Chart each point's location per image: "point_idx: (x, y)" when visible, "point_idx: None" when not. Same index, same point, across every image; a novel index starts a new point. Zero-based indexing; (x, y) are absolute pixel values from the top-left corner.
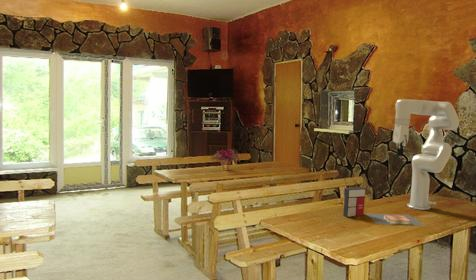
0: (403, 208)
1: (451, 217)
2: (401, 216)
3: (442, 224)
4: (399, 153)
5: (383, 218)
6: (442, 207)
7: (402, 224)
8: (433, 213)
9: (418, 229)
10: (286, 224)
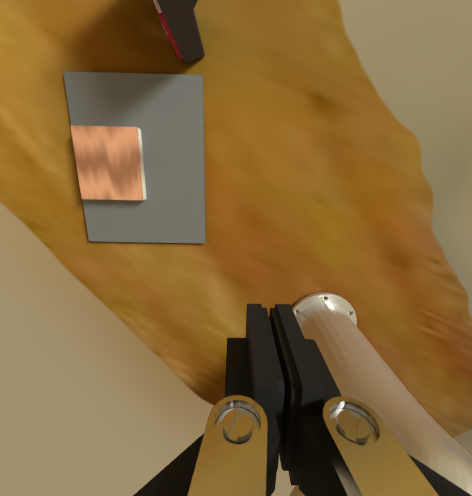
0: (305, 268)
1: (212, 360)
2: (132, 189)
3: (133, 303)
4: (230, 342)
5: (142, 128)
6: None
7: None
8: None
9: (59, 207)
10: None
